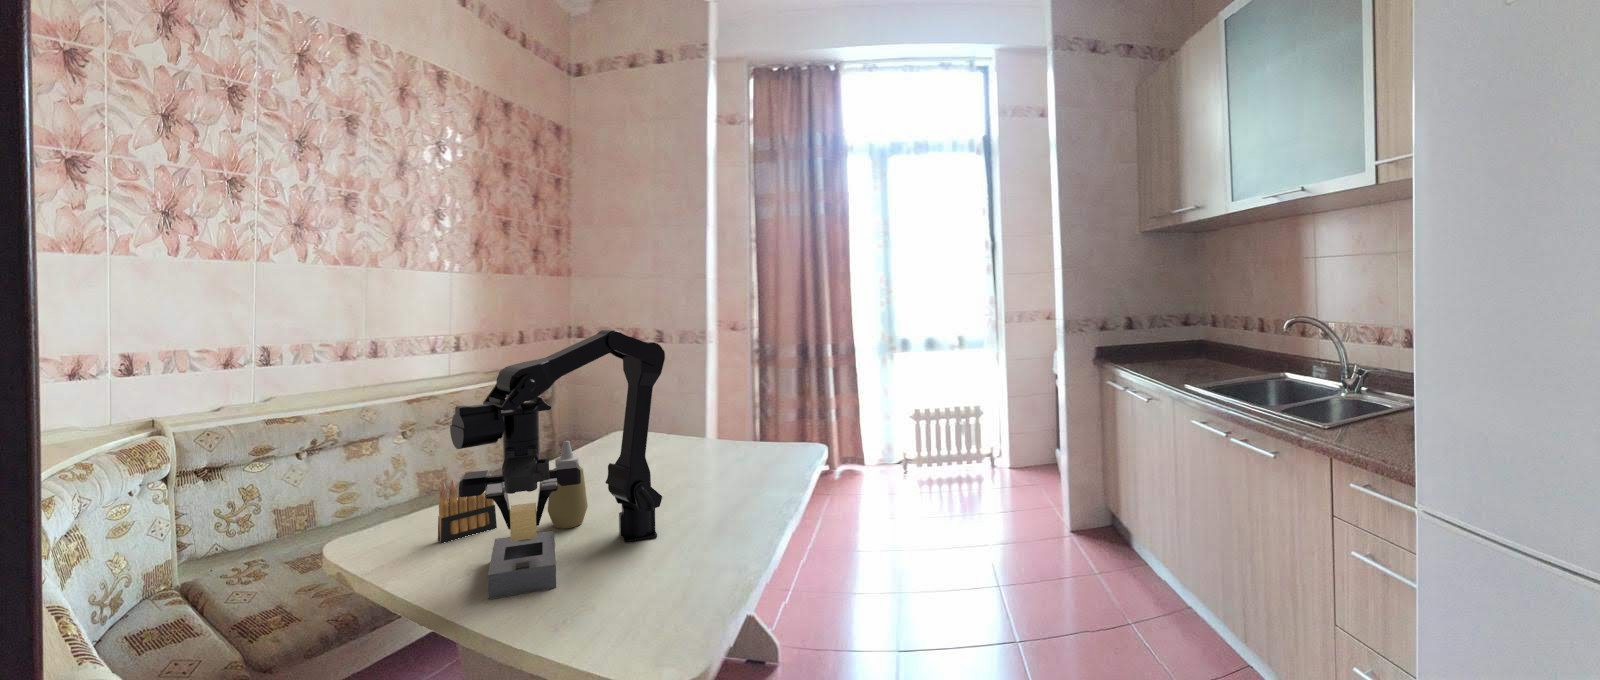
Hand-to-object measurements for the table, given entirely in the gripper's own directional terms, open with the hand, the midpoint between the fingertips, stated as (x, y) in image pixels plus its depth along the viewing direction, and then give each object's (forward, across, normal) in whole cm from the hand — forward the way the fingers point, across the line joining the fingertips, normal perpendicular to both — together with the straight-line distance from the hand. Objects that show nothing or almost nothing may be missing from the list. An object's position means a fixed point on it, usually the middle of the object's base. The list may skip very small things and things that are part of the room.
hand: (523, 526), depth 103 cm
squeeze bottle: (+8, +8, +22) cm, 25 cm away
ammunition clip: (+8, -11, +24) cm, 28 cm away
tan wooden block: (+2, 0, 0) cm, 2 cm away
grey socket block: (+8, 0, 0) cm, 8 cm away
